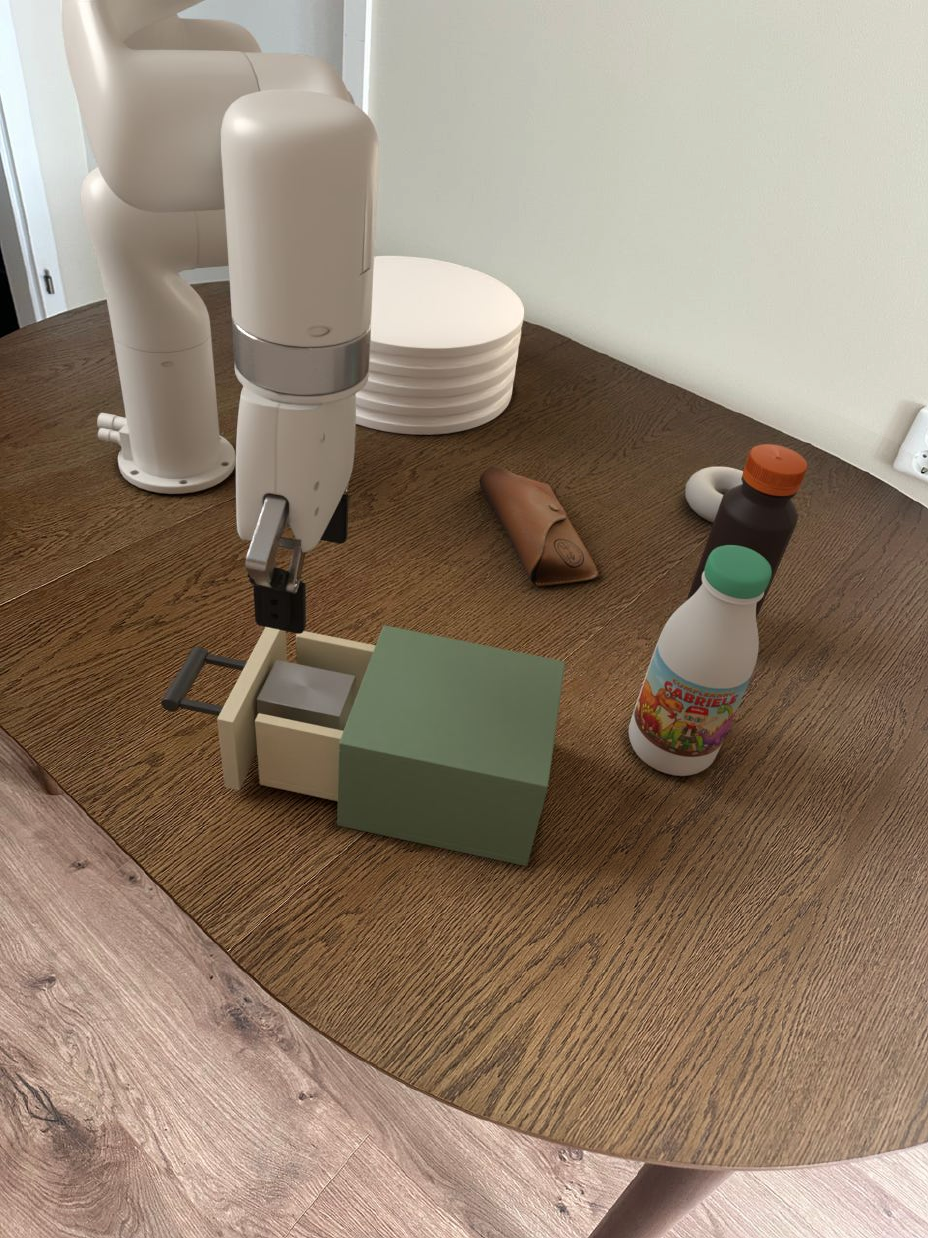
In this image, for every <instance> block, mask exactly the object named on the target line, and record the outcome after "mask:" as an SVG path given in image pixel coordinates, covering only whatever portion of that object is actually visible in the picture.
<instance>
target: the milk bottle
mask: <svg viewBox="0 0 928 1238" xmlns="http://www.w3.org/2000/svg"><path fill="white" fill-rule="evenodd" d="M771 573H772V570H771V566H770V564H769V563H768V561H767V560H766V559H765V558H764V557H763V556H761V555H760V554H759V553H757V552H755V551H753V550H751V549H749V548H746V547H742V546H736V545H725V546H720V547H718V548H716V549H714V550H713V551H712V552H711V554H710V555H709V557H708V560H707V562H706V565H705V569H704V572H703V574H702V585H701V586H700V588H699V589H698V590H697V592H696V593H695V594H694V595H693V596H692V597H691V598H690V599H688V600H687V599H686V600H687V601H684V602H683V603H682V604H681V605H680V606H679V607H678V608H677V609H675V611H674V612H673V613H672V614H671V616H670V617H669V618H668V620H667V622H666V623H665V625H664V626H663V629H662V631H661V633H660V634H659V637H658V640H657V642H656V645H655V647H654V650H653V653H652V656H651V659H650V662H649V665H648V667H647V670H646V673H645V676H644V678H643V682H642V685H641V687H640V691H639V694H638V697H637V700H636V703H635V706H634V709H633V712H632V715H631V718H630V722H629V725H628V738H629V741H630V745H631V747H632V749H633V751H634V753H635V755H636V756H638V757H639V758H640V760H641V761H642V762H644V763H645V764H647V765H648V766H649V767H651V768H652V769H655V770H656V771H657V772H661V773H664V774H667V775H671V776H679V777H687V776H693V775H696V774H699V773H701V772H703V771H705V770H707V769H708V768H709V767H710V766H712V764H713V763H714V761H715V760H716V758H717V755H718V754H719V752H720V750H721V747H722V745H723V743H724V741H725V739H726V737H727V734H728V732H729V729H730V728H731V725H732V722H733V720H734V718H735V716H736V714H737V711H738V709H739V707H740V704H741V702H742V700H743V697H744V695H745V693H746V690H747V688H748V686H749V683H750V680H751V679H752V676H753V673H754V670H755V668H756V665H757V660H758V656H759V647H760V638H759V637H760V636H759V630H758V623H757V619H756V604H757V602H758V601H760V600H761V599H762V597H763V595H764V591H765V590H766V588H767V586H768V584H769V581H770V578H771Z"/></svg>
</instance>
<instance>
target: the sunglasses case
mask: <svg viewBox="0 0 928 1238" xmlns="http://www.w3.org/2000/svg"><path fill="white" fill-rule="evenodd" d="M479 486H480V488H481V491H482V492H483V494H484V496H485V498H486V499H487V501H488V502H489V504H490V505H491V508H492V510H493V511H494V513H495V514H496V516H497V519H498V520H499V522H500V524H501V526H502V528H503V530H504V532H505V534H506V536H507V537H508V540H509V541H510V544H511V545H512V548H513V549H514V552H515V553H516V555H517V558H518V560H519V562H520V565H521V566H522V568H523V570H524V572H525V574H526V576H527V577H528V578H529V580H530V581H531V582H532V583H533V584H534V586H536V587H554V586H564V585H571V584H577V583H581V582H582V583H583V582H588V581H593V580H595V579H597V578H598V577H599V576H600V575H599V572H598V568H597V566H596V564H595V562H594V560H593V557H592V556H591V555H590V553H589V551H588V549H587V548H586V546H585V545H584V542H583V540H582V539H581V538H580V536H579V534H578V532H577V530H576V529H575V528H574V526H573V524H572V523H571V521H570V520H569V517H568V515H567V513H566V511H565V509H564V507H563V506H562V505H561V504H560V501H559V500H558V498H557V497H556V494H555V492H554V491H553V489H552V487H551V486H550V485H549V484H548V483H546V482H541V481H538V480H535V479H531V478H529V477H526V476H522V475H519V474H516V473H513V472H512V471H510V470H507V469H506V468H504V467H502V466H499V465H497V464H495V465H490V466H488V467H486V469H484V470H483V472H482V473H481V474H480V476H479Z"/></svg>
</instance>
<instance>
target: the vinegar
mask: <svg viewBox="0 0 928 1238" xmlns="http://www.w3.org/2000/svg"><path fill="white" fill-rule="evenodd" d="M808 467H809V466H808V462H807V461H806V459H805V458H804V457H803V456H802V455H801V454H799V453H798V452H797V451H795V450H793V449H790V448H789V447H785V446H782V445H779V444H770V443H767V444H759V445H756V446H753V447H752V448H750V451H749V453H748V455H747V459H746V461H745V465H744V468H743V470H742V471H743V473H742V478H741V480H742V483H743V484H741V485H739V486H736V487H734V488H731V489H730V490H729V491H727V492H726V493H725V494H724V495H723V497H722V500H721V503H720V506H719V509H718V512H717V514H716V517H715V520H714V523H712V526H711V528H710V532H709V535H708V537H707V541H706V542H705V546H704V548H703V552H702V555H701V557H700V561H699V563H698V566H697V569H696V572H695V575H694V577H693V579H692V583H691V586H690V589H689V592H688V595H687V598H686V601H687V600H688V599H690V598H691V597H692V596H693V595H694V594H695V593H696V592H697V590H698V589H699V588H700V586H701V585H702V574H703V572H704V569H705V565H706V562H707V560H708V557H709V555H710V554H711V552H712V551H713V550H714V549H716V548H718V547H720V546H725V545H736V546H742V547H746V548H749V549H751V550H753V551H755V552H757V553H759V554H760V555H761V556H763V557H764V558H765V559H766V560H767V561H768V563H769V564H770V566H771V570H772V573H771V578H770V581H769V584H768V586H767V588H766V590H765V591H764V595H763V597H762V599H761V600H760V601H758V602H757V604H756V620H757V619H758V616H759V614H760V612H761V609H762V606H763V605H764V602H765V600H766V597H767V595H768V592H769V591H770V588H771V585H772V583H773V581H774V579H775V576H776V573H777V571H778V569H779V566H780V564H781V562H782V560H783V557H784V555H785V552H786V550H787V547H788V545H789V543H790V541H791V538H792V536H793V535H794V531H795V528H796V527H797V523H798V518H799V514H798V511H797V509H796V506H795V504H794V502H793V500H792V499H793V498H794V497H795V496H796V495H797V493H798V491H799V490H800V488H801V485H802V483H803V480H804V478H805V476H806V473H807V471H808ZM686 601H685V602H686Z"/></svg>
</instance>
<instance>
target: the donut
mask: <svg viewBox="0 0 928 1238" xmlns="http://www.w3.org/2000/svg"><path fill="white" fill-rule="evenodd" d="M742 473H743V470H741V469H738V468H734V467H729V466H709V467H705V468H704V467H703V468H701V469H699V470H698V471H696V472H695V473H693V474H692V475H691V476H690V477H689V479H688V480H687V482H686V484H685V493H684V494H685V495H684V496H685V499H686V501H687V504H688V505H689V507H690V508H691V509H692V511H694V512H695V514H697V515H698V516H699V517H701V518H702V519H704V520H706V521H707V522H708V523H709V522H710V523H712V524H713V523H714V520H715V517H716V514H717V512H718V509H719V506H720V503H721V500H722V497H723V495H724V494H725V493H726V492H727V491H729V490H730V489H731V488H734V487H736V486H739V485H741V484H743V483H742V480H741V478H742Z"/></svg>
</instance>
